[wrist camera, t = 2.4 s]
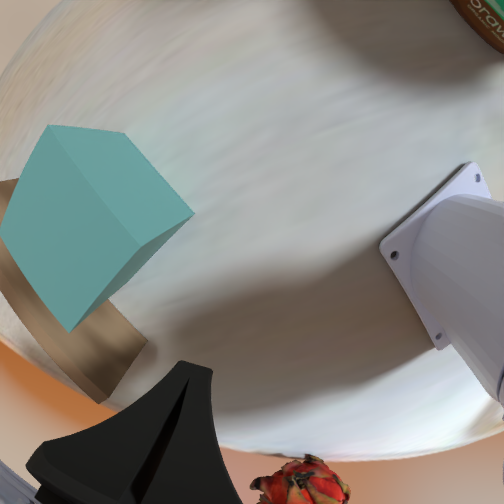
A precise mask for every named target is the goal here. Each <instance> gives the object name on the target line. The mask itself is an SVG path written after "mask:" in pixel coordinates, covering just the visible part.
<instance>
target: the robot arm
mask: <svg viewBox="0 0 504 504" xmlns="http://www.w3.org/2000/svg"><path fill="white" fill-rule="evenodd" d="M475 175H476V176H477V180H476V181H475ZM379 250H380V252H381V254H382V255H383V257H384V258H385V260H386V262H387V263H388V265H389V266H390V268H391V269H392V271H393V273H394V274H395V276H396V277H397V279H398V281H399V282H400V284H401V286H402V287H403V289H404V291H405V292H406V294H407V296H408V298H409V299H410V301H411V303H412V304H413V306H414V308H415V310H416V312H417V313H418V315H419V317H420V319H421V321H422V323H423V324H424V326H425V328H426V330H427V332H428V334H429V336H430V338H431V340H432V342H433V344H434V346H435V347H436V349H437V350H443V349H444V348H445V347H447V346H448V345H449V344H450V343H451V344H452V345H453V347H454V348H455V349H456V351H457V352H458V353H459V354H460V356H461V357H462V358H463V360H464V361H465V362H466V364H467V365H468V366H469V368H470V369H471V370H472V372H473V373H474V375H475V376H476V377H477V379H478V380H479V382H480V383H481V384H482V386H483V387H484V389H485V390H486V392H487V393H488V394H489V395H490V396H491V397H492V398H493V399H495V400H496V401H498V402H500V403H501V405H502V407H503V408H504V202H501V201H497V200H493V199H492V197H491V194H490V192H489V189H488V187H487V185H486V182H485V180H484V178H483V175H482V173H481V171H480V169H479V167H478V165H477V163H475V162H467V163H466V164H465V165H464V166H463V167H462V168H461V169H460V170H459V171H458V172H457V173H456V174H455V175H454V176H453V177H452V178H451V179H450V180H449V181H448V182H447V183H446V184H445V185H444V186H443V187H442V188H440V189H439V190H438V191H437V192H436V193H435V194H434V195H433V196H432V197H431V198H430V199H429V200H428V201H426V202H425V203H424V204H423V205H422V206H421V207H420V208H419V209H418V210H416V211H415V212H414V213H413V214H412V215H411V216H410V217H408V218H407V219H406V220H405V221H404V222H403V223H402V224H400V225H399V226H398V227H397V228H396V229H395V230H393V231H392V232H391V233H390V234H389V235H387V236H386V237H385V238H384V239H383V240H382V241H381V243H380V245H379ZM393 251H396V252H397V253H396V256H395V257H394V258H391V257H390V256H391V253H392V252H393ZM438 333H439V334H438ZM437 334H438V335H437ZM436 335H437V336H436ZM212 374H213V371H212V369H210V368H206V367H203V366H199V365H196V364H192V363H189V362H186V361H182V360H181V361H178V363H177V364H176V365H175V366H174V367H173V368H172V370H171V371H170V372H169V373H168V374H167V375H166V376H165V377H164V378H163V379H162V380H161V381H160V382H159V383H157V384H156V385H155V386H154V387H153V388H152V389H151V390H150V391H148V392H147V393H146V394H145V395H143V396H142V397H141V398H139V399H138V400H137V401H136V402H134V403H133V404H131V405H130V406H129V407H127V408H126V409H124V410H122V411H121V412H119V413H118V414H116V415H114V416H112V417H111V418H109V419H107V420H105V421H103V422H101V423H99V424H97V425H95V426H92V427H90V428H88V429H85V430H82V431H80V432H77V433H74V434H72V435H69V436H65V437H61V438H57V439H53V440H50V441H45V442H43V443H42V444H41V445H40V446H39V447H38V448H37V449H36V451H35V452H34V453H33V455H32V456H31V457H30V459H29V460H28V462H27V463H26V469H27V470H28V471H29V473H30V474H31V475H32V476H33V477H34V478H35V479H36V480H37V481H38V482H39V483H40V484H41V486H40V488H39V490H37V489H35V488H34V487H33V486H31V485H30V484H29V483H27V482H26V481H25V480H23V479H22V478H21V477H19V476H18V475H17V474H16V473H15V472H14V471H12V470H11V469H10V468H9V467H8V466H6V465H5V464H4V463H3V462H2V461H1V460H0V504H243V503H242V501H241V499H240V498H239V496H238V494H237V492H236V490H235V488H234V486H233V483H232V481H231V479H230V476H229V474H228V471H227V469H226V467H225V464H224V461H223V458H222V455H221V452H220V448H219V445H218V441H217V437H216V432H215V427H214V422H213V415H212V406H211V379H212ZM502 419H503V421H504V415H503V418H502ZM503 482H504V464H503Z"/></svg>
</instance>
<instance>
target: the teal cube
mask: <svg viewBox="0 0 504 504" xmlns="http://www.w3.org/2000/svg"><path fill="white" fill-rule="evenodd" d="M194 214H195V213H194V212H193V211H192V210H191V209H190V208H189V206H188V205H187V204H186V203H185V202H184V201H183V200H182V199H181V197H180V196H179V195H178V194H177V193H176V192H175V191H174V190H173V188H172V187H171V186H170V185H169V184H168V183H167V182H166V181H165V179H164V178H163V177H162V176H161V175H160V174H159V173H158V171H157V170H156V169H155V168H154V167H153V166H152V165H151V163H150V162H149V161H148V160H147V159H146V158H145V157H144V155H143V154H142V153H141V152H140V151H139V150H138V149H137V147H136V146H135V145H134V144H133V143H132V142H131V140H130V139H129V138H128V137H127V136H126V135H125V134H124V133H118V132H111V131H104V130H97V129H88V128H80V127H70V126H59V125H47V127H46V129H45V130H44V132H43V134H42V135H41V137H40V139H39V141H38V142H37V144H36V146H35V148H34V150H33V152H32V154H31V155H30V157H29V159H28V161H27V163H26V165H25V167H24V169H23V172H22V174H21V176H20V178H19V180H18V182H17V185H16V187H15V189H14V192H13V194H12V197H11V199H10V202H9V204H8V207H7V209H6V212H5V215H4V218H3V221H2V223H1V226H0V236H1V238H2V240H3V242H4V244H5V245H6V247H7V249H8V250H9V252H10V254H11V255H12V257H13V259H14V260H15V262H16V264H17V265H18V267H19V268H20V270H21V271H22V273H23V274H24V276H25V277H26V279H27V280H28V282H29V283H30V285H31V286H32V287H33V289H34V290H35V292H36V293H37V294H38V296H39V297H40V298H41V300H42V301H43V302H44V304H45V305H46V306H47V308H48V309H49V310H50V311H51V313H52V314H53V315H54V316H55V318H56V319H57V320H58V321H59V322H60V324H61V325H62V326H63V327H64V328H65V329H66V331H67V332H68V333H70V332H71V331H72V330H74V329H75V328H76V327H77V326H78V325H79V324H80V323H81V322H82V321H83V320H85V319H86V318H87V317H88V316H89V315H90V314H91V313H92V312H93V311H95V310H96V309H97V308H98V307H99V306H100V305H101V304H102V303H104V302H105V301H106V300H107V299H108V298H109V297H110V296H112V295H113V294H114V293H115V292H116V291H117V290H119V289H120V288H121V287H122V286H123V285H124V284H126V283H127V282H128V281H129V280H130V279H131V278H132V277H133V276H134V275H135V273H136V272H137V271H138V270H139V269H140V268H141V267H142V266H143V265H144V264H145V263H146V262H147V261H148V260H149V259H150V258H151V257H152V256H153V255H154V254H155V253H156V252H157V251H158V249H159V248H160V247H161V246H162V245H163V244H164V243H165V242H166V241H167V240H168V239H169V238H170V237H171V236H172V235H173V234H174V233H175V232H176V231H177V230H178V229H179V228H181V227H182V226H183V225H184V224H185V223H186V222H187V221H188V220H189V219H190V218H191V217H192V216H193V215H194Z"/></svg>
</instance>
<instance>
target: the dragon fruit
mask: <svg viewBox="0 0 504 504" xmlns="http://www.w3.org/2000/svg"><path fill="white" fill-rule="evenodd" d="M309 456H310V459H309V460H305V461H304V462H303V463H301V462H299V461H297V460H294V461H292V462H290V463H286V464H285V465H284V466H283V467H281V468H282V470H279V471H277V472H275V473H274V474H273V475H272V476H266V477H258V478H256V479H254V480H253V482H252V483H251V485H250V489H251V490H256V489H257V490H260V491H262V492H264V494H263V495H261V494H260V499H259V500H260V501H261V502H258V503H257V504H347V503H348V502H347V501H348V500H349V498H350V494H351V490H350V488H349V486H348V485H346V484H344V483H343V482H342V481H341V479H340V477H339V476H338V475H337V474H336V473H335V472H333V471H331V470H329V467H328V466H327V465H325V464H324V463H323V462H324V461H323V460H321V459H319V458H318V457H316V456H311V455H309Z"/></svg>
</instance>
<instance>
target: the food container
mask: <svg viewBox="0 0 504 504" xmlns="http://www.w3.org/2000/svg"><path fill="white" fill-rule="evenodd" d="M449 1H450V2H451V3H452V5H453V6H454V7H455V9H456V10H457V11H458V13H459V14H460V15H461V16H462V17H463V19H464V20H465V21H466V22H467V23H468V24H469V25H470V27H471V28H472V29H473V30H474V31H475V32H476V33H477V34H478V35H479V36H480V37H481V38H483V39H484V40H485V41H486V42H487V43H488V44H489V45H491V46H492V47H493V48H494V49H496V50H497V51H499V52H500V53H502V54H504V0H449Z"/></svg>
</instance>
